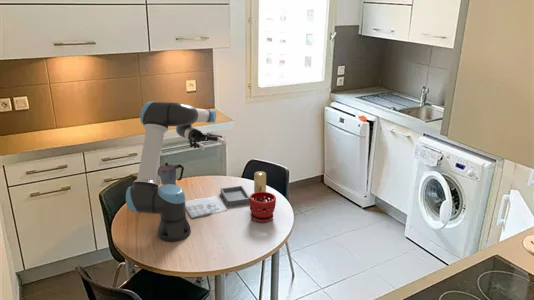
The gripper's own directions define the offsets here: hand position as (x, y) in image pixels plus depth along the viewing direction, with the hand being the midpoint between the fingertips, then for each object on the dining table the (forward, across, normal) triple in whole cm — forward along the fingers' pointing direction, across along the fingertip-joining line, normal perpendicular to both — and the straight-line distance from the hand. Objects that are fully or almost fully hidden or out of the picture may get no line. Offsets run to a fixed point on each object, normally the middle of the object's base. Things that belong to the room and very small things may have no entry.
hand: (214, 145), depth 226 cm
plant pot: (+36, -4, -30) cm, 47 cm away
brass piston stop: (+20, -15, -30) cm, 39 cm away
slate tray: (+10, -6, -30) cm, 32 cm away
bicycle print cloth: (+8, +12, -31) cm, 34 cm away
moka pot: (-15, +20, -30) cm, 39 cm away
